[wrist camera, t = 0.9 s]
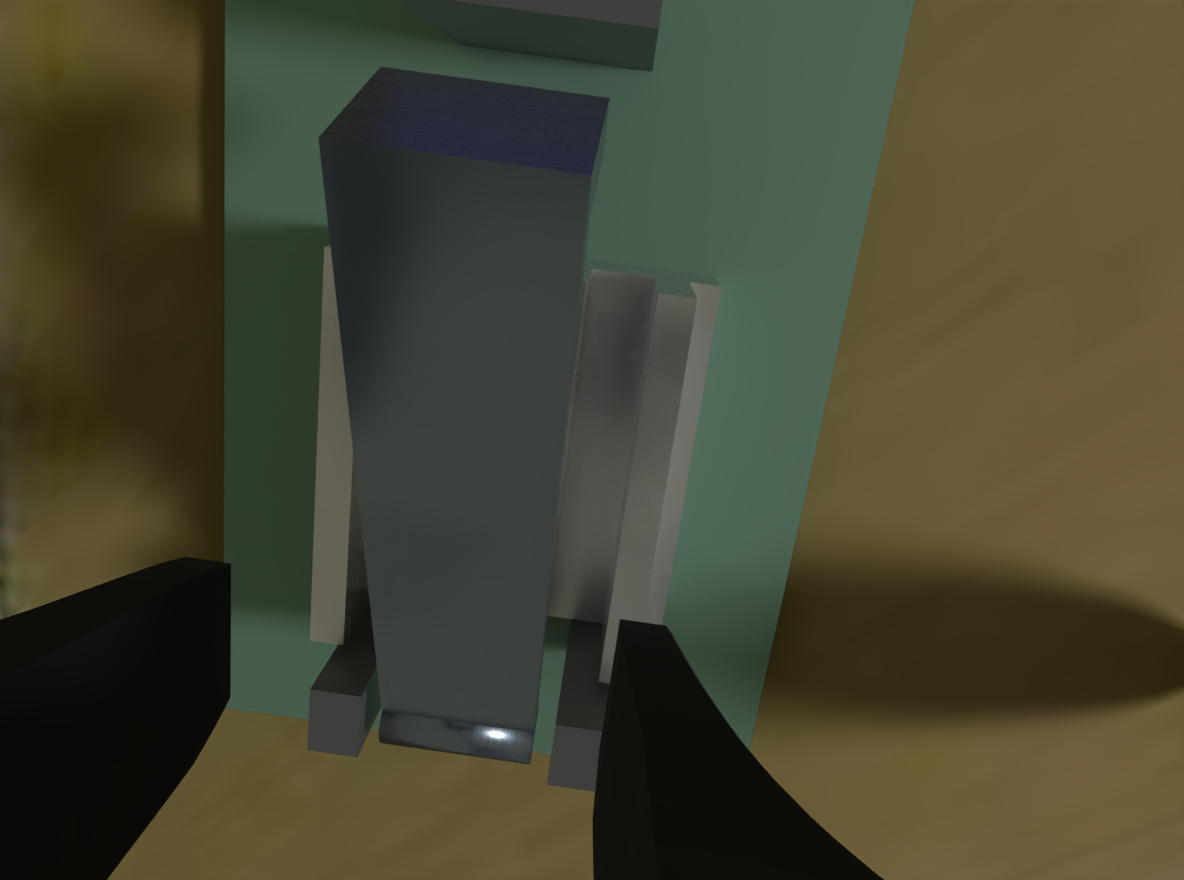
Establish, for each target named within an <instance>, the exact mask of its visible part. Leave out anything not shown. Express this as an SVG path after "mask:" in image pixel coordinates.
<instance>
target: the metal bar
mask: <svg viewBox="0 0 1184 880" xmlns="http://www.w3.org/2000/svg"><path fill="white" fill-rule="evenodd" d="M609 101H610V98H606V97H599V96H592V95H585V94H577V93H570V92H563V91H555V90H548V89H541V88H533V87H526V86H519V85H512V84H504V83H497V82H490V81H482V80H475V79H468V78H460V77H453V76H446V75H439V74H431V73H424V72H417V71H409V70H402V69H395V68H387V67H380V68H379V69H378V70H377V71H376V73H375V74H374V75H373V76H372V77H371V78H370V79H369V81H368V82H367V83H366V84H365V85H364V86H363V87H362V89H361V90H360V91H359V92H358V93H357V94H356V95H355V96H354V98H353V99H352V100H351V101H350V102H349V103H348V104H347V106H346V107H345V108H344V109H343V110H342V111H341V112H340V113H339V115H338V116H337V117H336V118H335V119H334V120H333V121H332V123H331V124H330V125H329V126H328V127H327V128H326V129H325V131H324V132H323V133H322V134H321V135H320V136H319V137H318V139H319V148H320V157H321V166H322V175H323V184H324V193H325V202H326V211H327V220H328V229H329V238H330V247H331V256H332V265H333V274H334V283H335V292H336V301H337V310H338V319H339V329H340V338H341V347H342V356H343V365H344V374H345V383H346V392H347V401H348V410H349V419H350V428H351V437H352V446H353V455H354V464H355V473H356V482H357V491H358V500H359V509H360V518H361V527H362V536H363V545H364V554H365V563H366V572H367V581H368V591H369V600H370V609H371V618H372V627H373V636H374V645H375V654H376V663H377V672H378V681H379V690H380V699H381V708H382V713H381V719H380V726H379V741H380V743H384V744H391V745H398V746H405V747H412V748H418V749H425V750H432V751H439V752H446V753H453V754H460V755H467V756H474V757H481V758H488V759H495V760H502V761H508V762H515V763H522V764H529V765H530V761H531V755H532V749H533V743H534V737H535V730H536V723H537V716H538V708H539V702H538V701H539V691H540V682H541V673H542V663H543V654H544V644H545V635H546V626H547V616H548V607H549V597H550V588H551V578H552V569H553V560H554V550H555V541H556V531H557V522H558V513H559V503H560V494H561V484H562V475H563V466H564V456H565V447H566V437H567V428H568V419H569V409H570V400H571V390H572V381H573V372H574V362H575V353H576V343H577V334H578V325H579V315H580V306H581V296H582V287H583V278H584V268H585V259H586V249H587V240H588V230H589V221H590V215H591V210H592V206H593V201H594V197H595V192H596V188H597V183H598V179H599V174H600V170H601V165H602V161H603V155H604V146H605V137H606V128H607V119H608V110H609Z"/></svg>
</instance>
